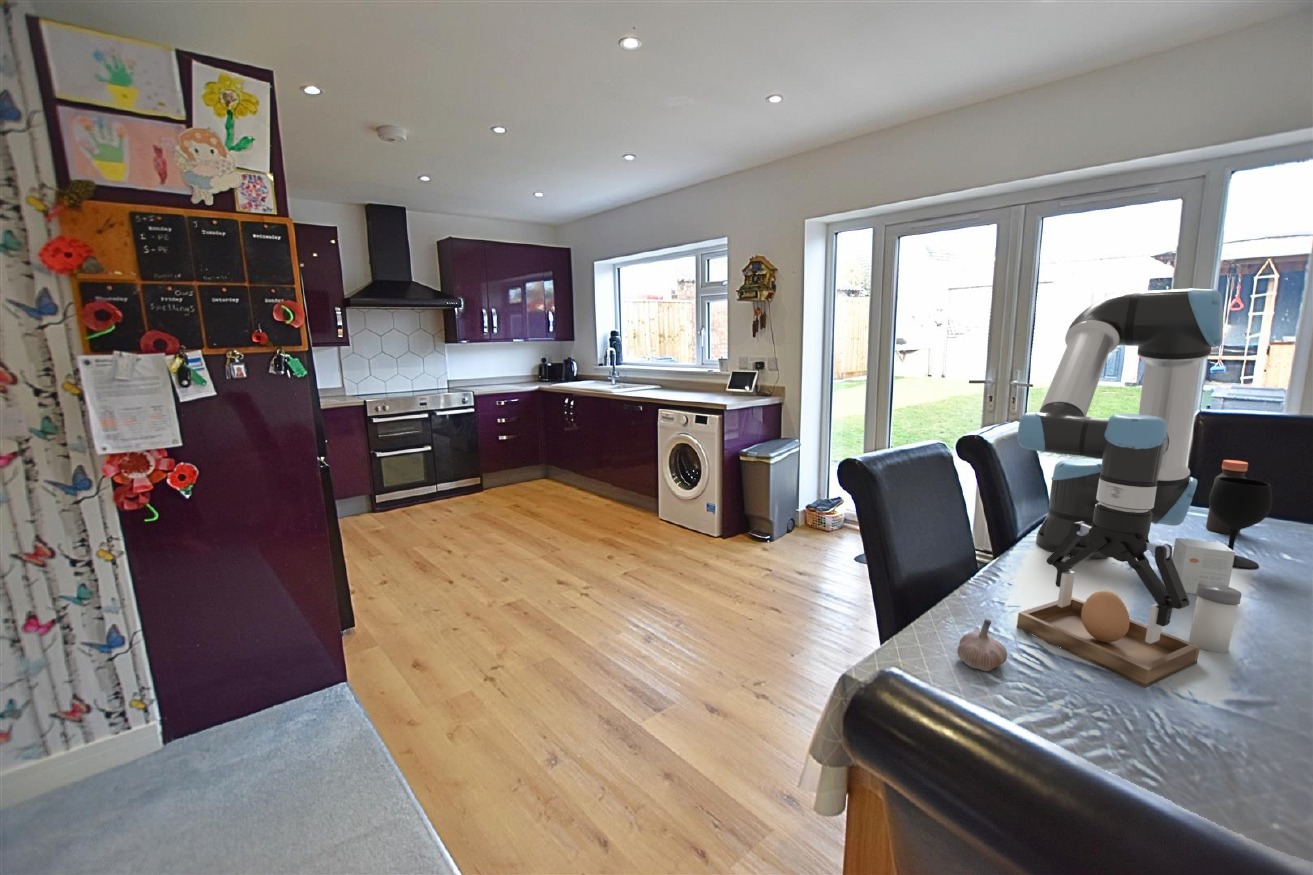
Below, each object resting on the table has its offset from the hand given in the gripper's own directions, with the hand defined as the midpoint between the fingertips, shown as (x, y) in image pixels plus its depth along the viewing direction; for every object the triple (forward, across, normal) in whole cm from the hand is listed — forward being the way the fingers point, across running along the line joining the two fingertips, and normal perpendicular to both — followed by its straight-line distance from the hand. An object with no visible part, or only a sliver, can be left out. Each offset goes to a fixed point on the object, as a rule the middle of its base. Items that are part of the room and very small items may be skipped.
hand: (1105, 622), depth 98 cm
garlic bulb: (+4, -5, -25) cm, 26 cm away
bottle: (+4, -20, +98) cm, 100 cm away
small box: (+4, -4, +43) cm, 43 cm away
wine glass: (+4, -9, +71) cm, 72 cm away
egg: (+4, 0, 0) cm, 4 cm away
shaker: (+4, +8, +17) cm, 19 cm away
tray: (+4, 0, 0) cm, 4 cm away
